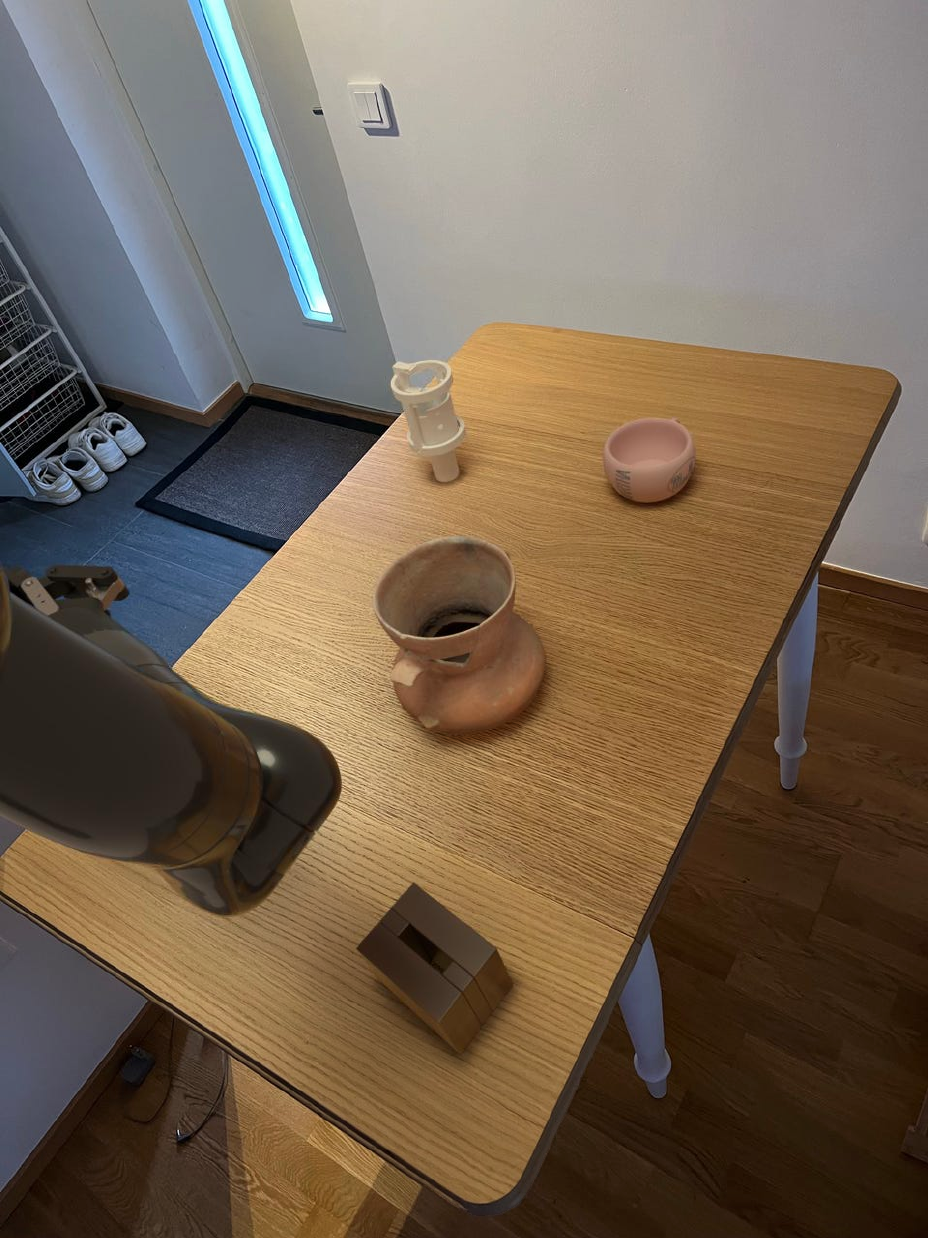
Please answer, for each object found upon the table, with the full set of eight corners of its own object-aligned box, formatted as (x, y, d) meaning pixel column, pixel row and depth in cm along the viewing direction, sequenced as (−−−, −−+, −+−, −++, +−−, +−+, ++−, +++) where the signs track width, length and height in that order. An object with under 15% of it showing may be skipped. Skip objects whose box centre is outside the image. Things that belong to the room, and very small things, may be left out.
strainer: (441, 451, 107) (412, 346, 97) (485, 463, 104) (461, 355, 93) (408, 484, 104) (375, 379, 93) (453, 497, 100) (424, 390, 90)
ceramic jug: (494, 783, 72) (461, 684, 62) (366, 728, 79) (317, 630, 69) (586, 637, 81) (570, 529, 71) (463, 599, 88) (432, 496, 78)
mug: (668, 523, 90) (667, 480, 86) (589, 499, 95) (584, 457, 91) (719, 458, 95) (720, 415, 91) (641, 439, 100) (639, 397, 96)
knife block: (460, 1055, 58) (438, 1023, 53) (382, 983, 63) (355, 948, 58) (513, 984, 61) (497, 948, 56) (435, 920, 65) (413, 881, 60)
